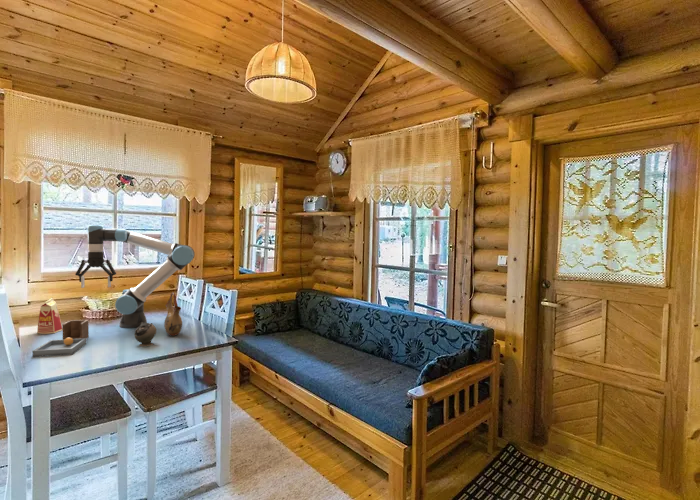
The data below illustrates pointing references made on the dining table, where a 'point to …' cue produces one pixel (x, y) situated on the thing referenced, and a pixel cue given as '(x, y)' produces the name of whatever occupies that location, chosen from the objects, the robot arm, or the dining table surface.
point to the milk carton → (49, 318)
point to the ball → (68, 341)
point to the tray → (58, 348)
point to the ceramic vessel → (173, 318)
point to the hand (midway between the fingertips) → (96, 287)
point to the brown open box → (76, 329)
